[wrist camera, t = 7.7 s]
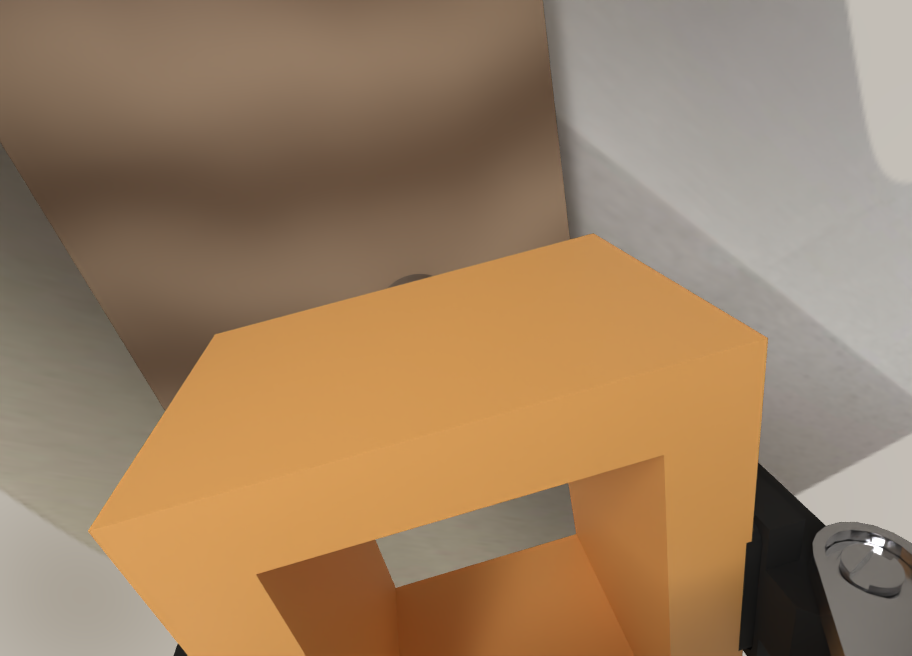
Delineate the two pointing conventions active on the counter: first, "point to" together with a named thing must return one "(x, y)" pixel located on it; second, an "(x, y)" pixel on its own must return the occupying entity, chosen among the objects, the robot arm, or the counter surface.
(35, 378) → the counter surface
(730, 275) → the counter surface
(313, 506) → the orange open tray
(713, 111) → the counter surface
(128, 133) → the flat brown board
